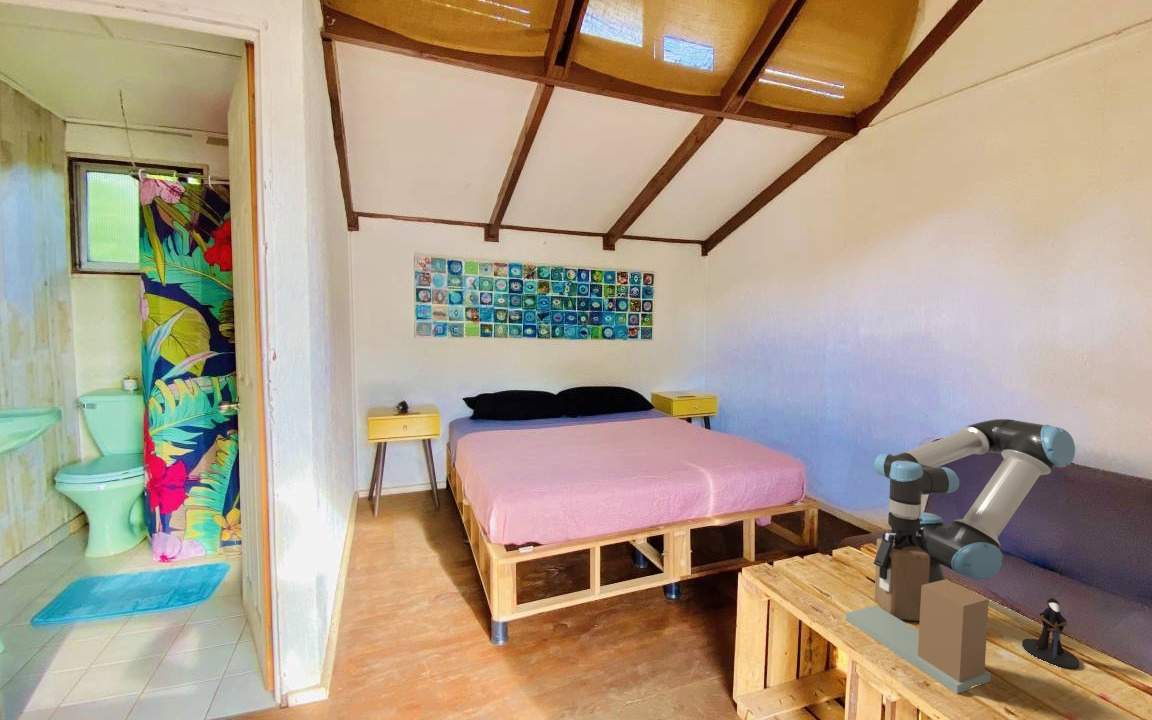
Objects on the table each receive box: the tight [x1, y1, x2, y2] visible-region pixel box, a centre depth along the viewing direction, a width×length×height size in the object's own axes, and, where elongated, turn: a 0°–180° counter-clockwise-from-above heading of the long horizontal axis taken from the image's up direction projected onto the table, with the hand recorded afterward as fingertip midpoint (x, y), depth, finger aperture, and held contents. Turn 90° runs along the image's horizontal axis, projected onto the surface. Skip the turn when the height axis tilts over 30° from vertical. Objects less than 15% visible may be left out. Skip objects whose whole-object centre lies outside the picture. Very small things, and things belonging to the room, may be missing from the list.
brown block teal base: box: [845, 578, 992, 695], centre depth 115 cm, size 12×28×20 cm, turn 19°
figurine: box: [1021, 597, 1081, 670], centre depth 113 cm, size 10×10×15 cm
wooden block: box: [874, 537, 930, 622], centre depth 131 cm, size 10×10×20 cm
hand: (900, 585), depth 131 cm, fingers closed on wooden block, 13 cm apart
